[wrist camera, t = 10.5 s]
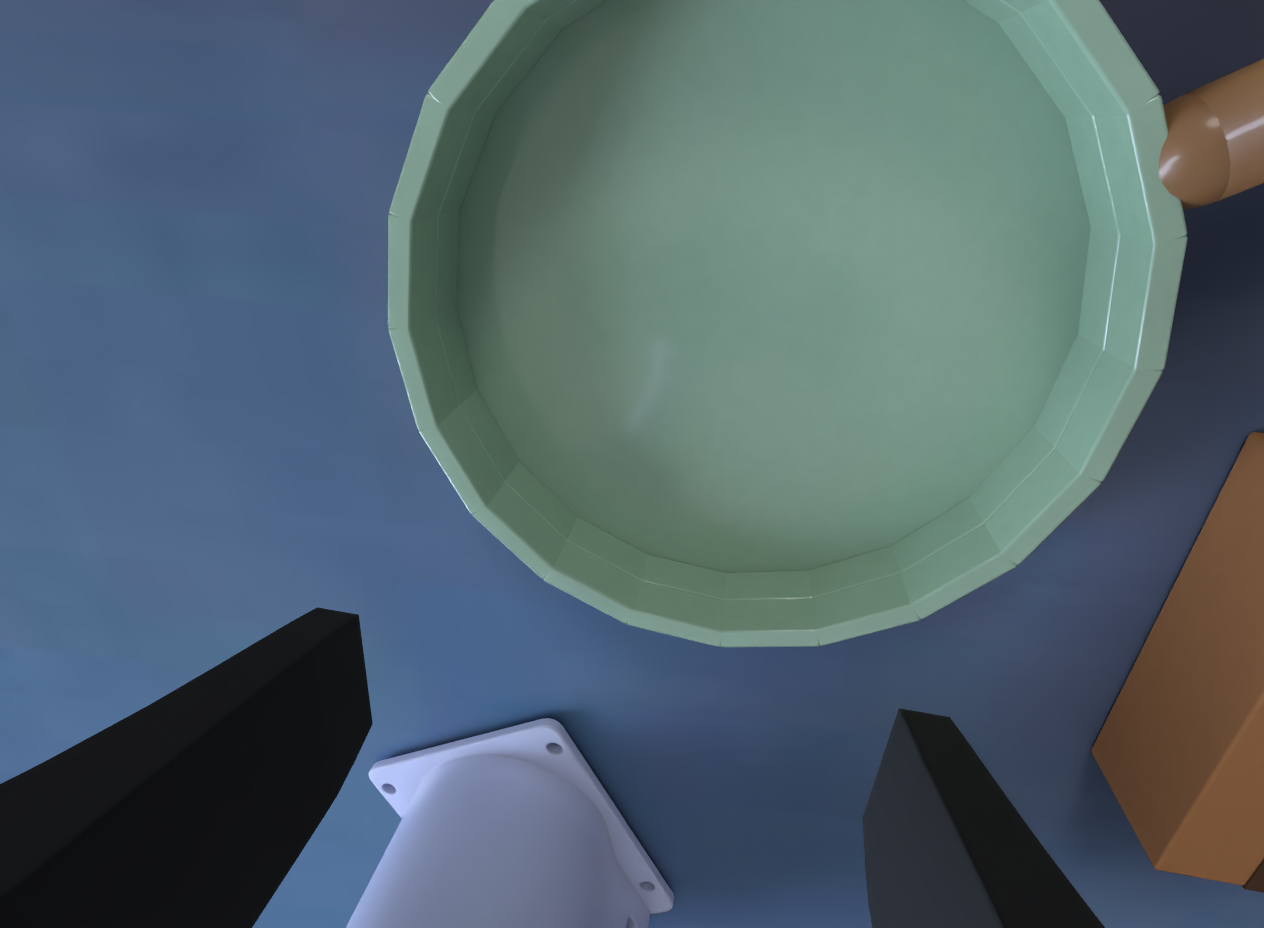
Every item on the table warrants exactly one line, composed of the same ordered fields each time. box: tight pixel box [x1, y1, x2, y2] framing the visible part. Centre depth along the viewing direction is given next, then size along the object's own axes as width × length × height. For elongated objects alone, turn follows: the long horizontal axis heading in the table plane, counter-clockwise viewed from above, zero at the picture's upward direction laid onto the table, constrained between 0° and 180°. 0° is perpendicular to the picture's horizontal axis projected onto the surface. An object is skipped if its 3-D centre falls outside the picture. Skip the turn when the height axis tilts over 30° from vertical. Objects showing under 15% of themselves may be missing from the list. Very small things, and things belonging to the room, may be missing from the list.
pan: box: [388, 0, 1187, 647], centre depth 15 cm, size 15×15×3 cm
